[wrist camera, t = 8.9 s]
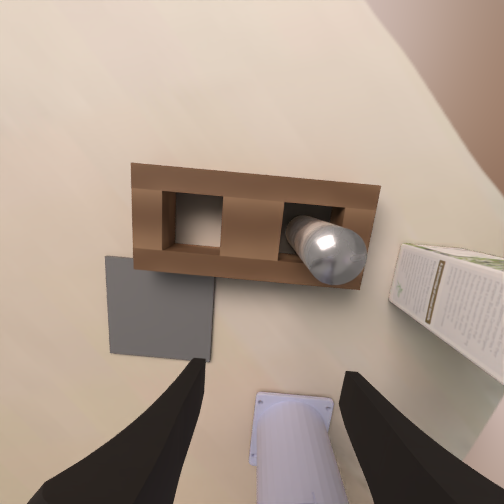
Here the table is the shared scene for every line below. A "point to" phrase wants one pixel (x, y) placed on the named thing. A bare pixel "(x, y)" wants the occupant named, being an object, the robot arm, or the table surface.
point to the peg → (327, 249)
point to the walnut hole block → (239, 222)
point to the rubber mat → (158, 312)
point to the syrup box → (455, 299)
